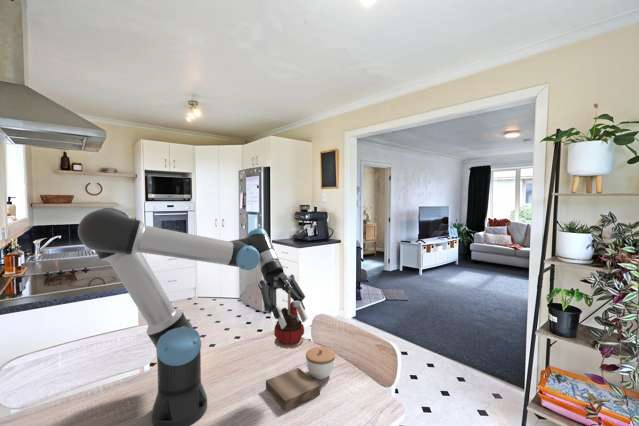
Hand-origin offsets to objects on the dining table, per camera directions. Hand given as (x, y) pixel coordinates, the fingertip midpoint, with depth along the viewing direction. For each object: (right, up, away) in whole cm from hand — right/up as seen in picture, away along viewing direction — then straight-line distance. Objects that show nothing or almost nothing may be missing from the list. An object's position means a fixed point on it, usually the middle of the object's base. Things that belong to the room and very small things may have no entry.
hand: (294, 323), depth 98 cm
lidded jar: (+8, -23, +12) cm, 27 cm away
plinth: (-1, -23, +2) cm, 23 cm away
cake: (-2, -8, +3) cm, 9 cm away
